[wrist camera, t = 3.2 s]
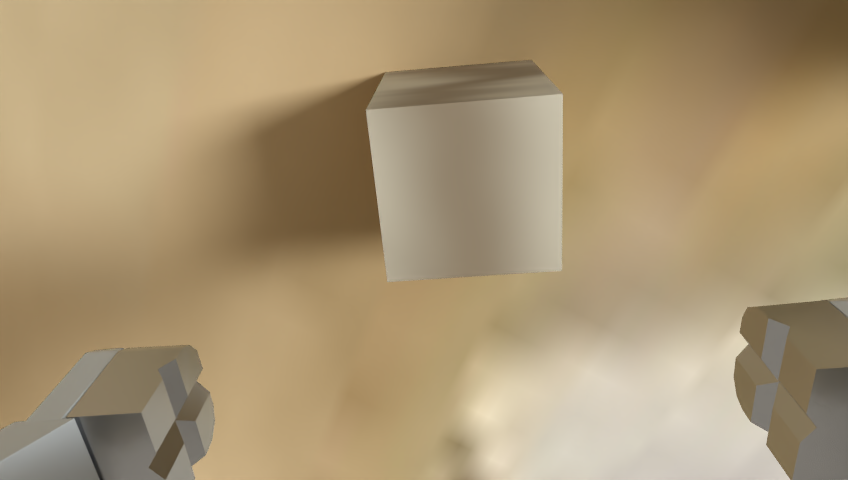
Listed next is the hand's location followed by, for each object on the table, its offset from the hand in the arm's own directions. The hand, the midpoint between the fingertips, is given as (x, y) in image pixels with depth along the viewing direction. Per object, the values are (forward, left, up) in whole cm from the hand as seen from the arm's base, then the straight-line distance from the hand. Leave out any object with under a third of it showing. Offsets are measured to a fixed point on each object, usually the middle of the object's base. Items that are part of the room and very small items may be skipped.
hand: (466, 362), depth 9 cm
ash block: (0, 0, -14) cm, 14 cm away
